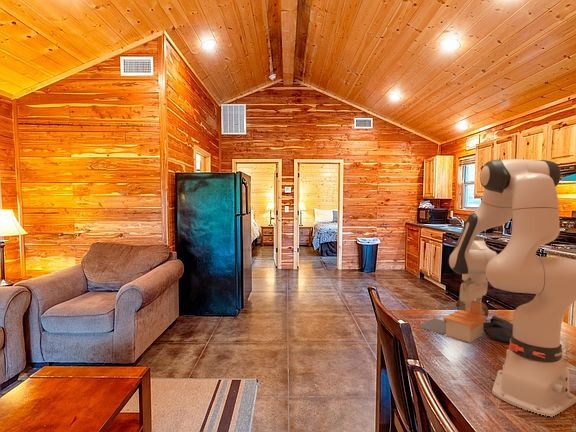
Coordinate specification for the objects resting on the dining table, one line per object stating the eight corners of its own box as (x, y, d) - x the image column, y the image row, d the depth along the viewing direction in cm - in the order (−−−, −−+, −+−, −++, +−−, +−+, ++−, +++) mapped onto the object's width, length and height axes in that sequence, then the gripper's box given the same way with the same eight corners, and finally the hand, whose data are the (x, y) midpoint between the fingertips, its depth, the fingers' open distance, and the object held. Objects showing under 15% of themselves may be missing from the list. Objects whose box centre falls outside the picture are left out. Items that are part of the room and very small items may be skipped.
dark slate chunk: (483, 341, 126) (483, 329, 126) (480, 323, 145) (480, 313, 145) (531, 349, 119) (531, 337, 119) (521, 329, 138) (521, 318, 138)
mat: (443, 335, 131) (443, 334, 131) (416, 327, 140) (416, 326, 140) (459, 326, 141) (459, 325, 141) (434, 318, 150) (434, 318, 150)
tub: (469, 343, 123) (469, 325, 123) (446, 336, 130) (446, 319, 130) (483, 334, 132) (483, 317, 132) (460, 327, 139) (460, 312, 139)
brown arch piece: (455, 312, 159) (456, 296, 159) (460, 311, 160) (460, 295, 160) (485, 322, 145) (485, 304, 145) (489, 321, 147) (489, 303, 146)
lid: (471, 330, 122) (471, 314, 122) (443, 322, 130) (443, 307, 130) (487, 320, 132) (487, 305, 132) (460, 314, 141) (461, 299, 140)
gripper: (471, 281, 127) (471, 315, 127) (490, 274, 139) (490, 305, 140) (455, 278, 132) (455, 311, 132) (475, 272, 144) (474, 302, 145)
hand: (473, 308), depth 136 cm, fingers open, 8 cm apart
